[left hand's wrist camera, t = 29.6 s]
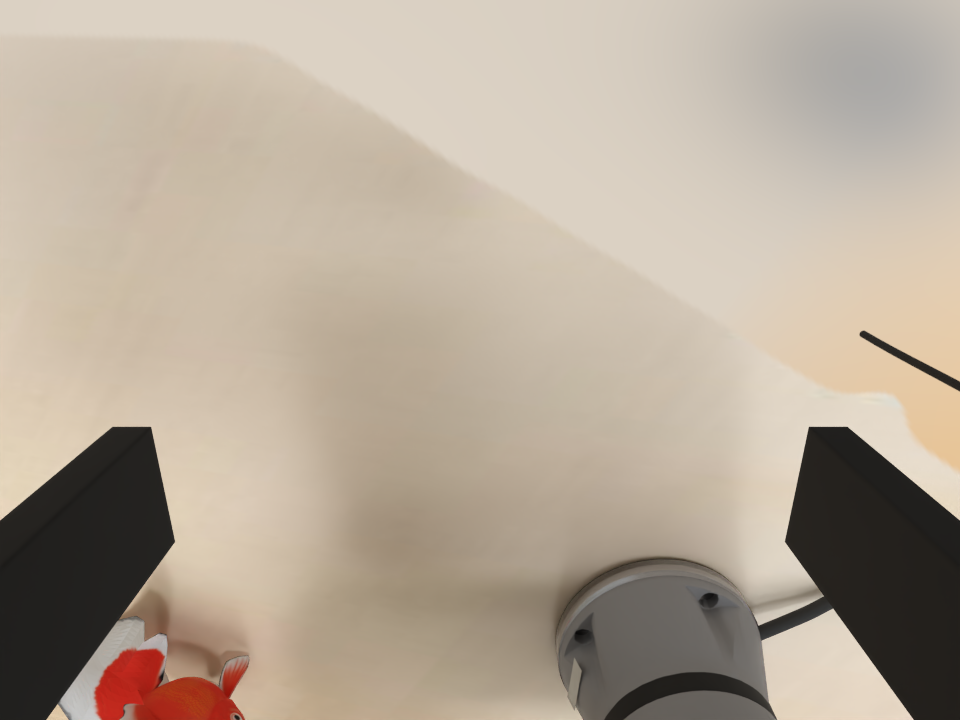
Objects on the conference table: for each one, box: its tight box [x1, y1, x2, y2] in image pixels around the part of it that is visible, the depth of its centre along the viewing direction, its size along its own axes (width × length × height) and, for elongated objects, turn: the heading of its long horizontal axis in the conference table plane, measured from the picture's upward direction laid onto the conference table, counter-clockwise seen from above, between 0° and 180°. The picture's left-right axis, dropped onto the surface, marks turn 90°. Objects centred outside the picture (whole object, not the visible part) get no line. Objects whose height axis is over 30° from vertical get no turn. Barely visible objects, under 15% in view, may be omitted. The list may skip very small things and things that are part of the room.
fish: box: [58, 616, 249, 720], centre depth 46 cm, size 11×16×10 cm
